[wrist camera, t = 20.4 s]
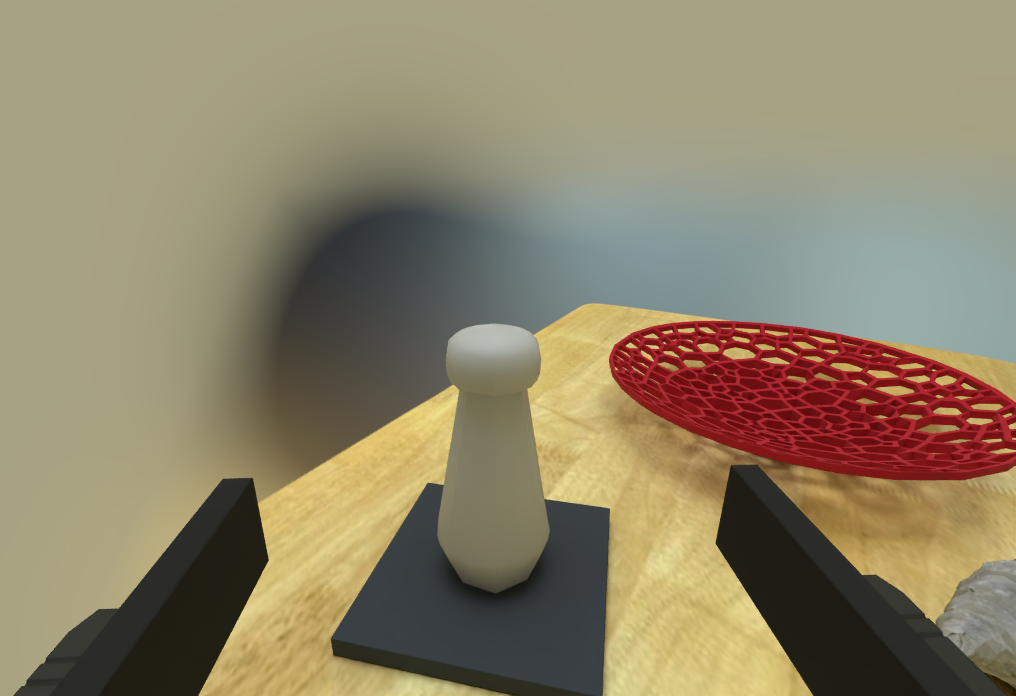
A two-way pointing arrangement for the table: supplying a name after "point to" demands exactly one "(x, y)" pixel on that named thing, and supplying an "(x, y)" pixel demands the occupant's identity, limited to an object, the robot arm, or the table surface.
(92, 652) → the robot arm
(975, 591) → the seashell
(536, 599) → the mat
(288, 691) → the table surface
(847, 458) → the bowl
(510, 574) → the salt shaker
